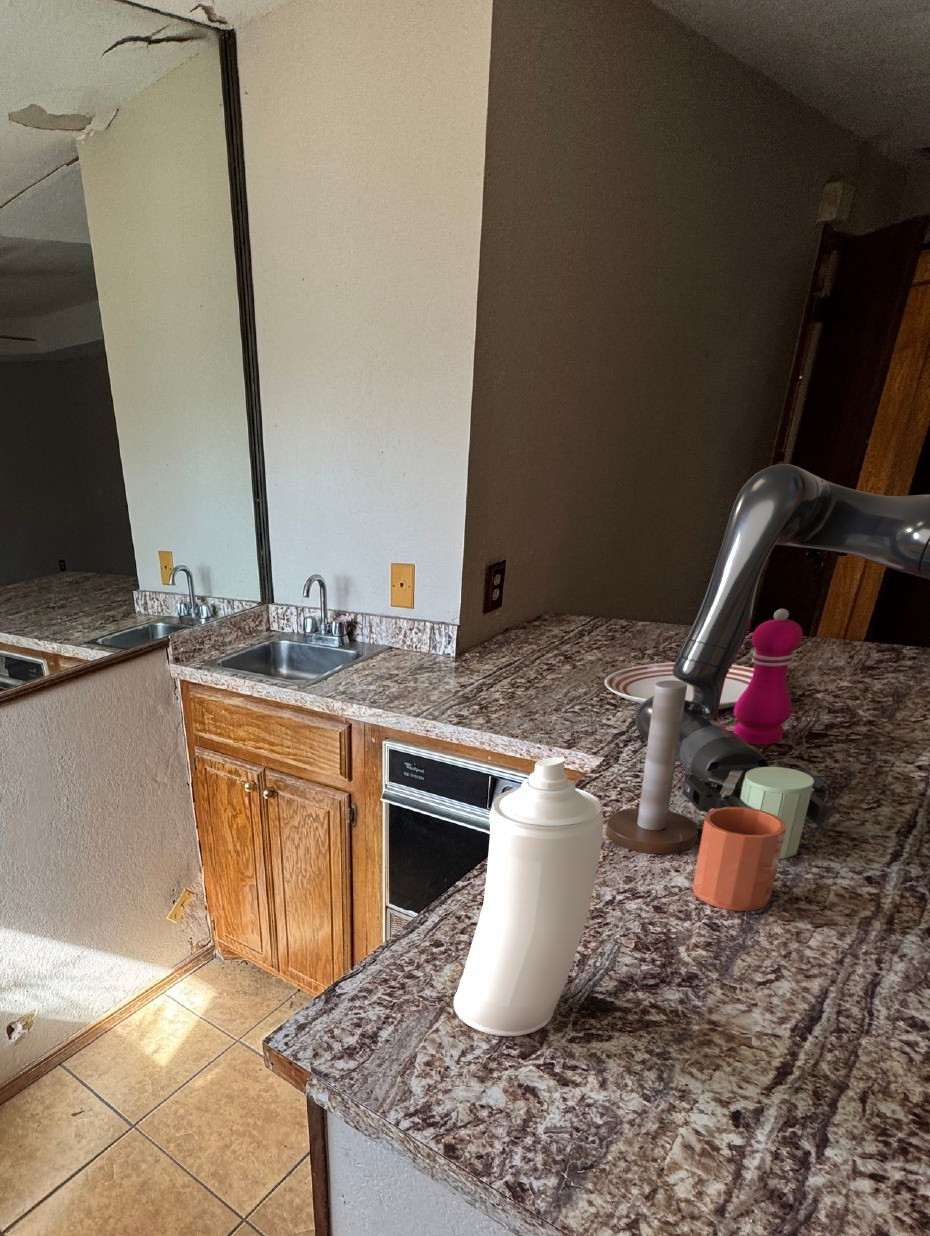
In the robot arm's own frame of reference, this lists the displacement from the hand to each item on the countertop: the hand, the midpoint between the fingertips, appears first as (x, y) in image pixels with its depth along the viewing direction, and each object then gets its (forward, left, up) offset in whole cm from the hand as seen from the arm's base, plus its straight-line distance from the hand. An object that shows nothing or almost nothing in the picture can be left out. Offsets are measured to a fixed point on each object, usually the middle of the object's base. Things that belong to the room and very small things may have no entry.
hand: (782, 816), depth 85 cm
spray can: (+42, +6, -5) cm, 43 cm away
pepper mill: (-30, -25, -5) cm, 39 cm away
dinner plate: (-39, -45, -5) cm, 60 cm away
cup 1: (+11, +3, -5) cm, 12 cm away
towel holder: (+7, -11, -5) cm, 14 cm away
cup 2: (-1, -2, -5) cm, 6 cm away
